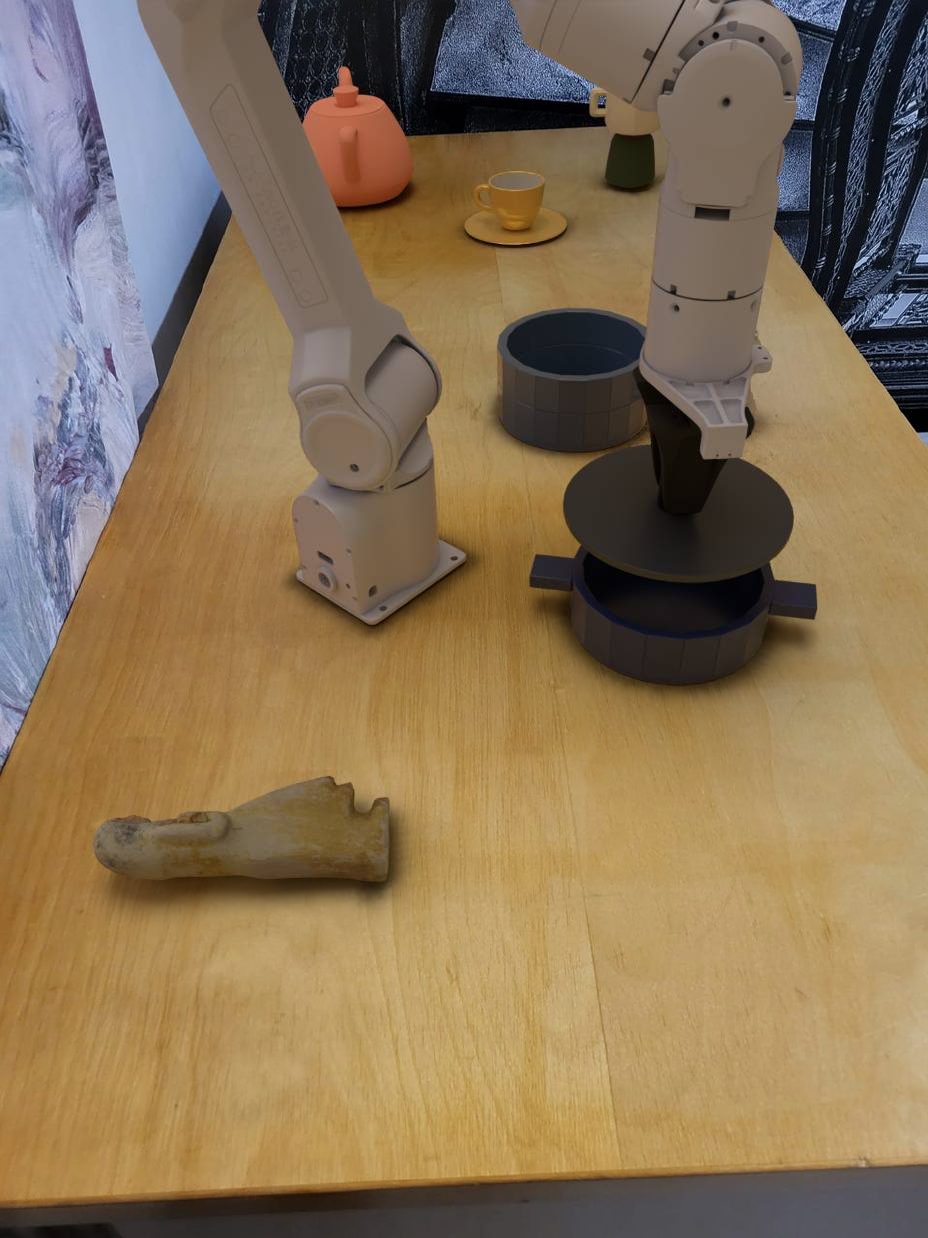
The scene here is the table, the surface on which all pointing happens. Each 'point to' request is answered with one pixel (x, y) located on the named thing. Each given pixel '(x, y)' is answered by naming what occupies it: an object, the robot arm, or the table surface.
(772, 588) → the pan
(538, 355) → the pot
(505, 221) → the cup
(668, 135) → the robot arm
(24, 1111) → the table surface
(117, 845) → the figurine
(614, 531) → the lid
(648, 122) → the character mug
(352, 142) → the teapot
